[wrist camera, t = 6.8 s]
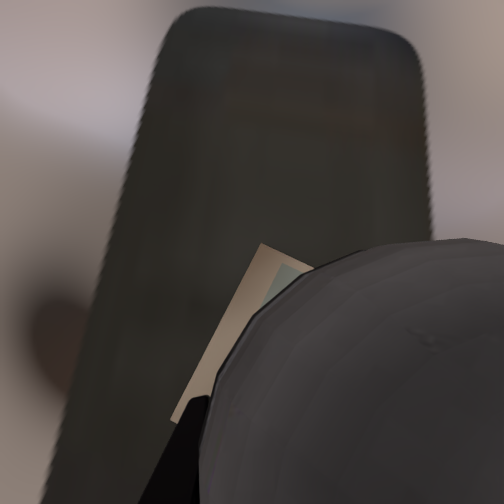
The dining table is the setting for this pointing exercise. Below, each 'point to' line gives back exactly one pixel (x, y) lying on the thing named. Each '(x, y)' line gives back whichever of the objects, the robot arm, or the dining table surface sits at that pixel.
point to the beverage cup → (367, 385)
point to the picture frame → (241, 315)
